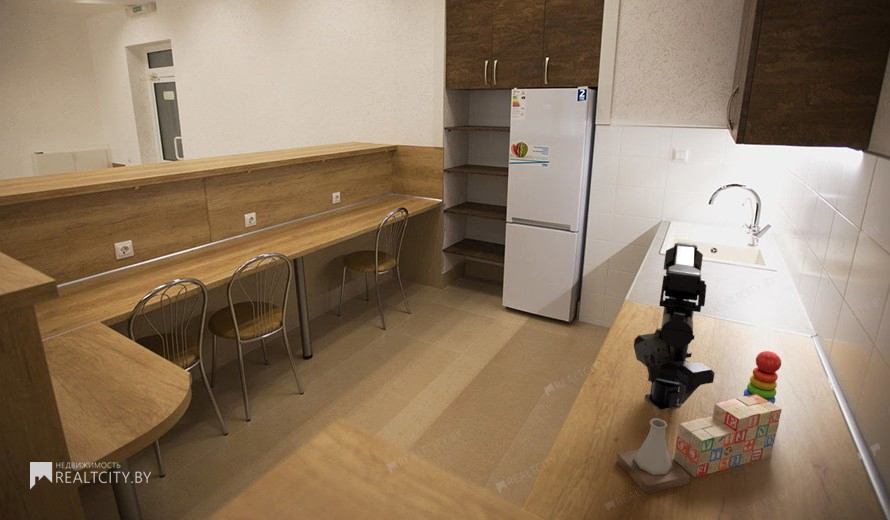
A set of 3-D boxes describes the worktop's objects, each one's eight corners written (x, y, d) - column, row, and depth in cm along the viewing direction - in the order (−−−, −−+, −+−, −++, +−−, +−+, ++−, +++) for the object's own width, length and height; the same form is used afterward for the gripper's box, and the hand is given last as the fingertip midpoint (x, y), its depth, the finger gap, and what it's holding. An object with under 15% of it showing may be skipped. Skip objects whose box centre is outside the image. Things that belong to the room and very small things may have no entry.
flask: (626, 458, 107) (631, 417, 104) (652, 449, 110) (657, 409, 107) (653, 480, 101) (659, 437, 98) (679, 470, 104) (686, 428, 101)
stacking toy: (738, 426, 121) (752, 356, 116) (732, 408, 129) (745, 341, 123) (776, 433, 119) (792, 362, 113) (768, 415, 126) (783, 347, 121)
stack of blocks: (695, 478, 104) (704, 427, 101) (672, 459, 110) (680, 410, 107) (771, 456, 111) (782, 408, 108) (746, 439, 117) (756, 392, 113)
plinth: (616, 461, 109) (617, 453, 109) (656, 453, 112) (657, 445, 111) (646, 493, 100) (647, 485, 100) (688, 484, 103) (689, 476, 102)
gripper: (617, 314, 114) (610, 376, 118) (674, 352, 96) (663, 422, 101) (659, 309, 117) (650, 370, 121) (722, 345, 99) (709, 414, 104)
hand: (666, 392), depth 112 cm, fingers open, 9 cm apart
